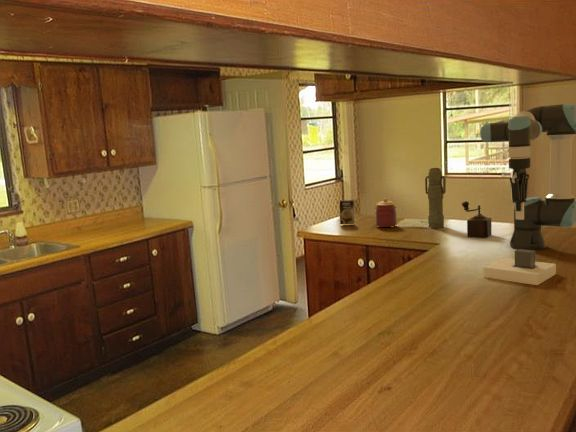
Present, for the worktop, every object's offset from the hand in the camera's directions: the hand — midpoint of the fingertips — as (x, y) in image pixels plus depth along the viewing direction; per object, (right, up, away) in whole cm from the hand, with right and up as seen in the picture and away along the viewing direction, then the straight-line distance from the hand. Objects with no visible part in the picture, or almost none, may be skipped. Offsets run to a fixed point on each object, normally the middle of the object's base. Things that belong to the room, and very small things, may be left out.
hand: (519, 219), depth 203 cm
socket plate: (-1, -22, -1) cm, 22 cm away
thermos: (-1, -6, +111) cm, 111 cm away
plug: (+1, -22, -3) cm, 22 cm away
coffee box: (-51, -5, +136) cm, 145 cm away
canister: (-28, -5, +123) cm, 126 cm away
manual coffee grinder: (+11, -10, +79) cm, 80 cm away
